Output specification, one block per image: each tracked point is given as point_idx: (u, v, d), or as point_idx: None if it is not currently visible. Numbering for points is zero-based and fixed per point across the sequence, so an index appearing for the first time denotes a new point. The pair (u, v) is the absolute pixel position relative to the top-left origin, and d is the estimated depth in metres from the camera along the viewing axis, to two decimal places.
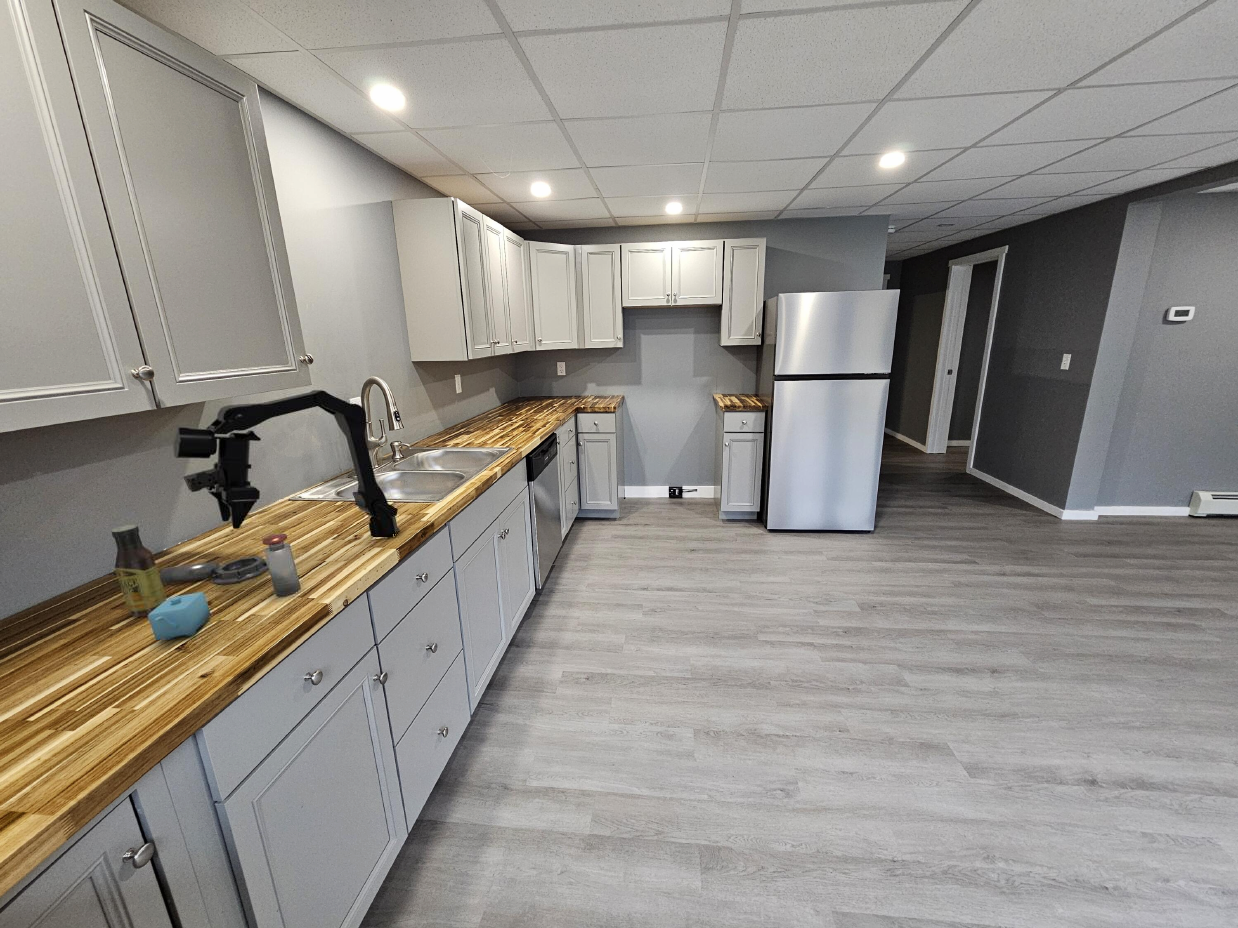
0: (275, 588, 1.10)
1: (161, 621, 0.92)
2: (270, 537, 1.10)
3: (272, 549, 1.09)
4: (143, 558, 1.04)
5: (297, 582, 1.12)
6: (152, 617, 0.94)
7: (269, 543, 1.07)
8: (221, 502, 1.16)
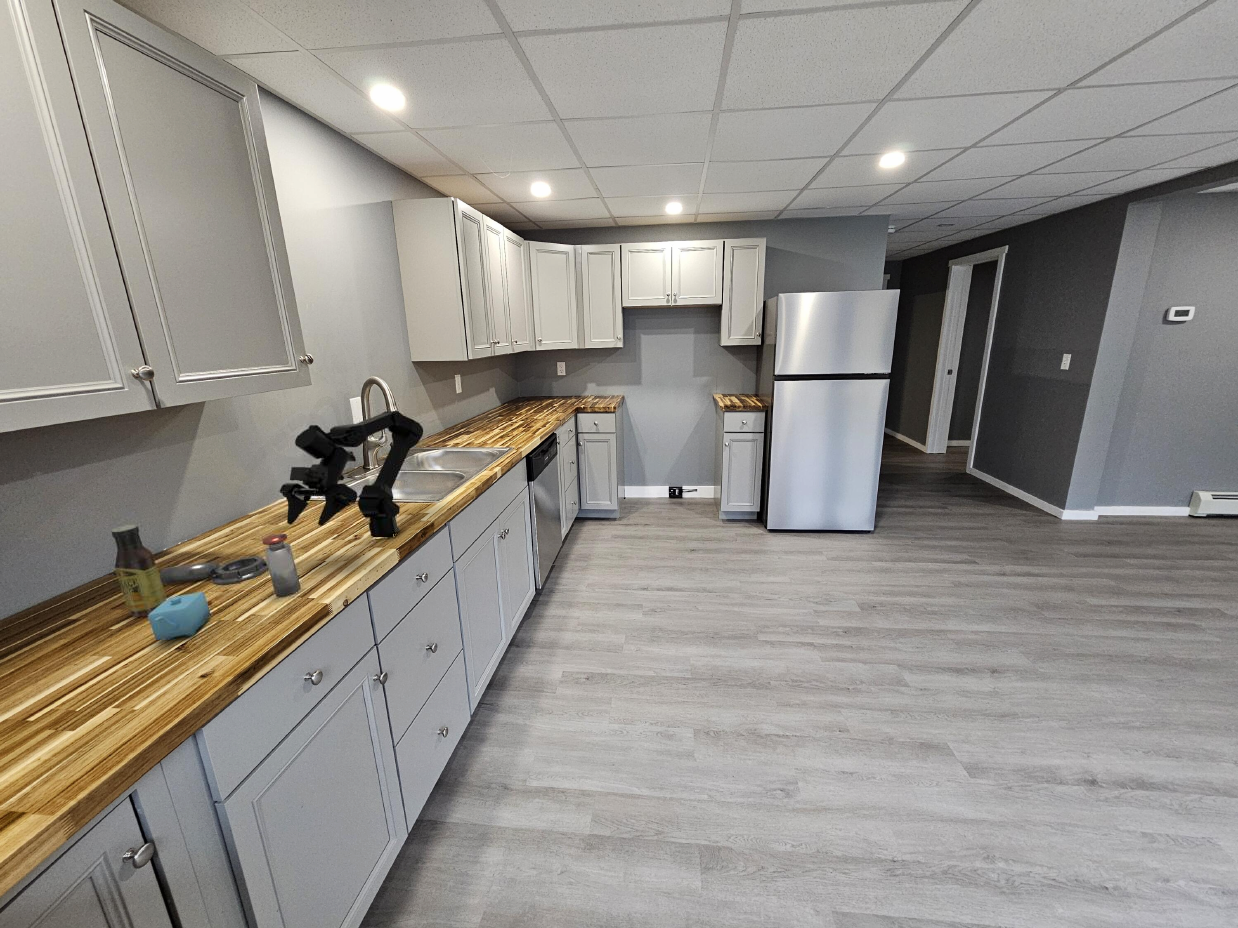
0: (275, 588, 1.10)
1: (161, 621, 0.92)
2: (270, 537, 1.10)
3: (272, 549, 1.09)
4: (143, 558, 1.04)
5: (297, 582, 1.12)
6: (152, 617, 0.94)
7: (269, 543, 1.07)
8: (294, 505, 1.20)
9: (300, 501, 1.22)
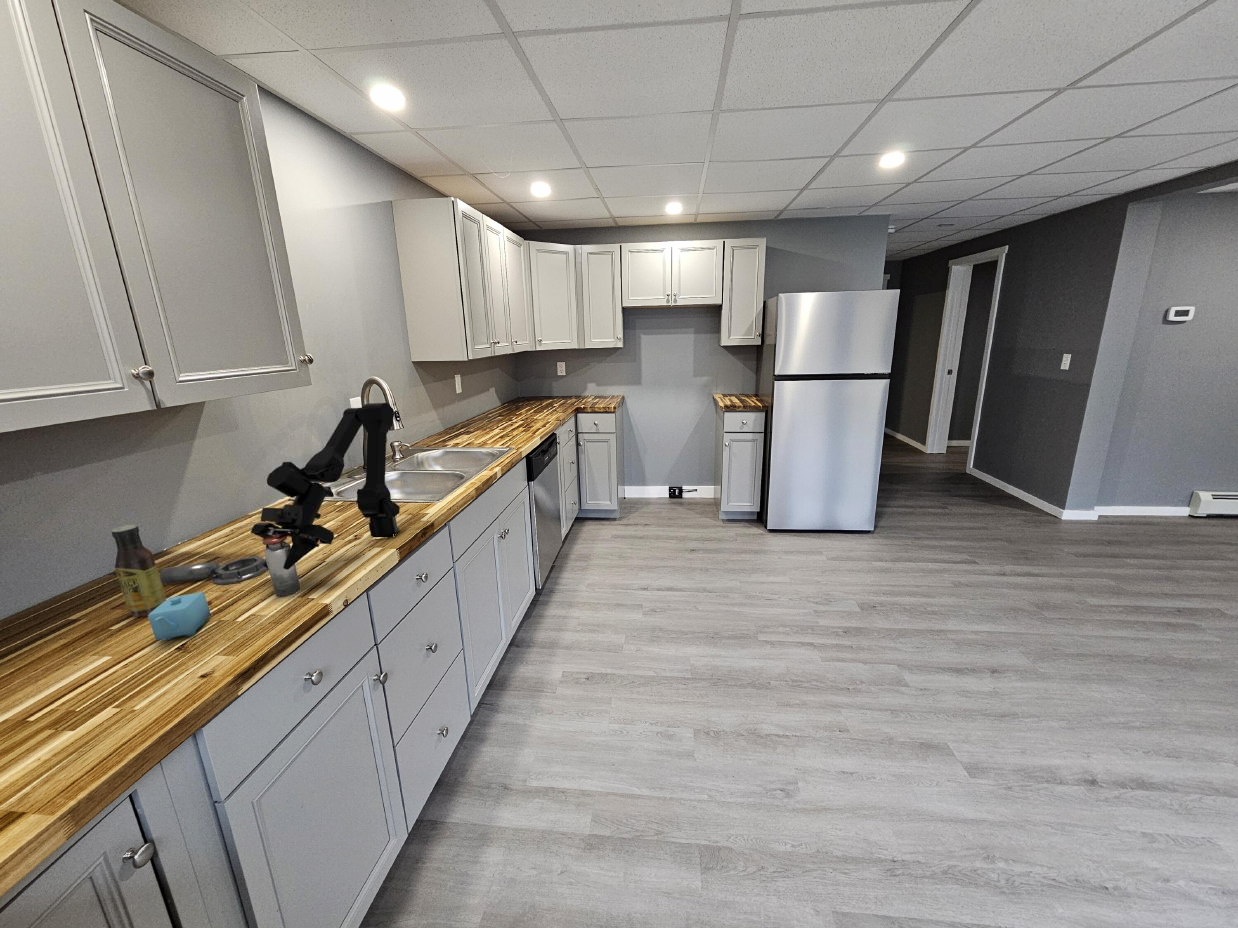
0: (275, 588, 1.10)
1: (161, 621, 0.92)
2: (270, 537, 1.10)
3: (272, 549, 1.09)
4: (143, 558, 1.04)
5: (297, 582, 1.12)
6: (152, 617, 0.94)
7: (269, 543, 1.07)
8: None
9: None
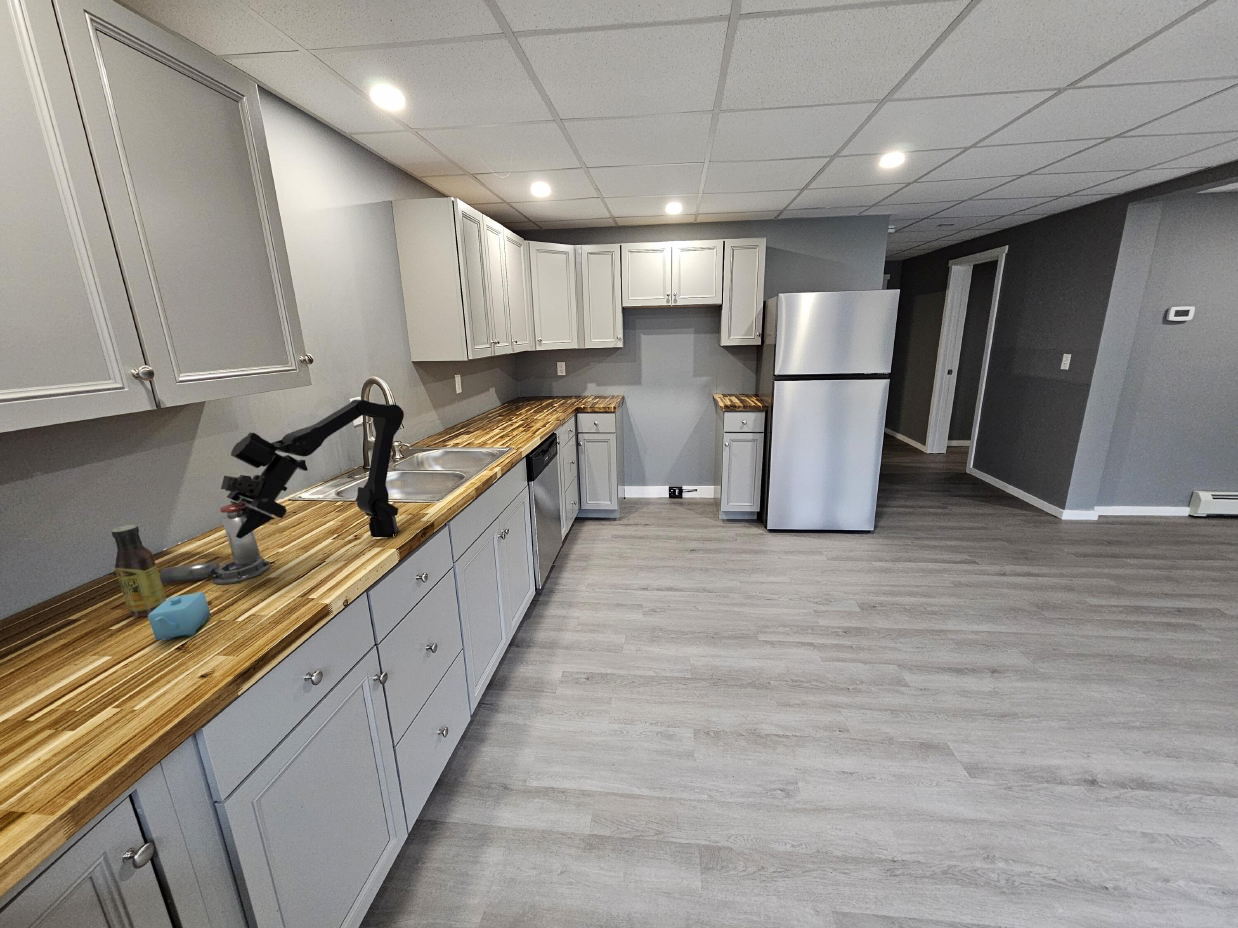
0: None
1: (161, 621, 0.92)
2: (230, 505, 1.13)
3: (228, 517, 1.11)
4: (143, 558, 1.04)
5: (253, 552, 1.14)
6: (152, 618, 0.94)
7: (223, 511, 1.10)
8: None
9: None
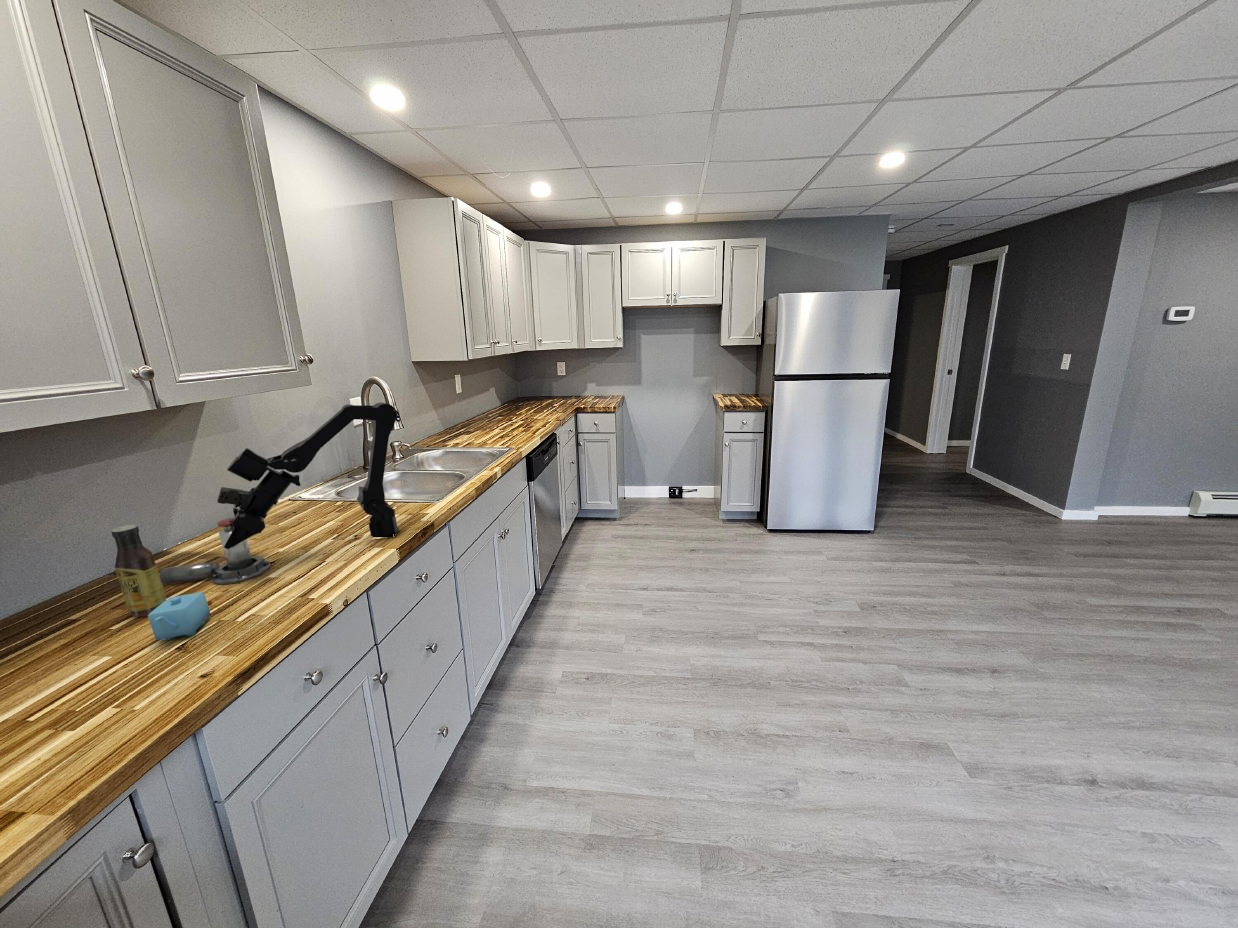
0: None
1: (161, 621, 0.92)
2: (229, 519, 1.22)
3: (224, 530, 1.20)
4: (143, 558, 1.04)
5: (243, 564, 1.22)
6: (152, 618, 0.94)
7: (218, 525, 1.19)
8: None
9: None
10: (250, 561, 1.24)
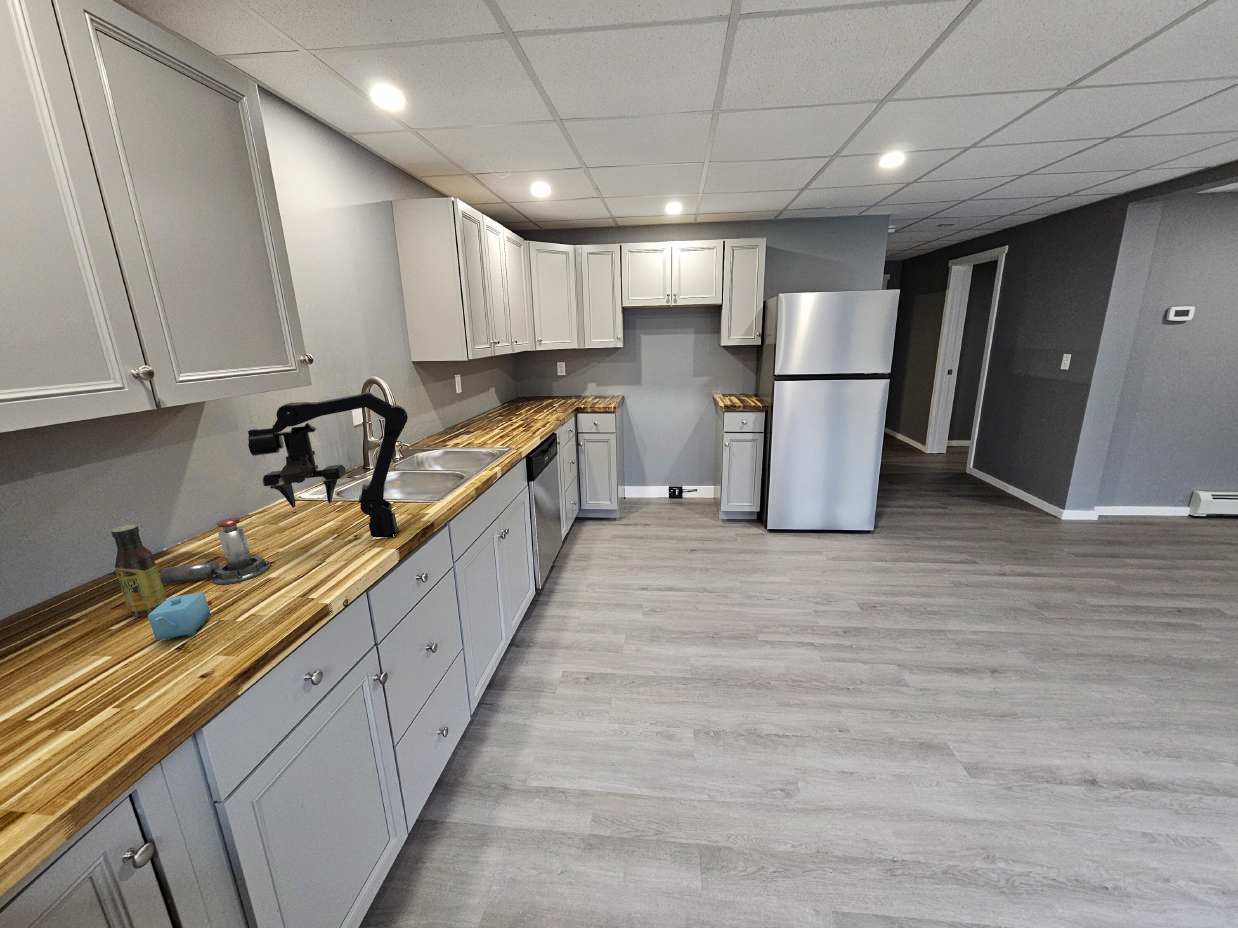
0: None
1: (161, 621, 0.92)
2: (228, 519, 1.22)
3: (223, 531, 1.20)
4: (143, 558, 1.04)
5: (243, 565, 1.22)
6: (152, 618, 0.94)
7: (217, 525, 1.19)
8: (287, 492, 1.31)
9: (287, 484, 1.32)
10: (250, 561, 1.24)
